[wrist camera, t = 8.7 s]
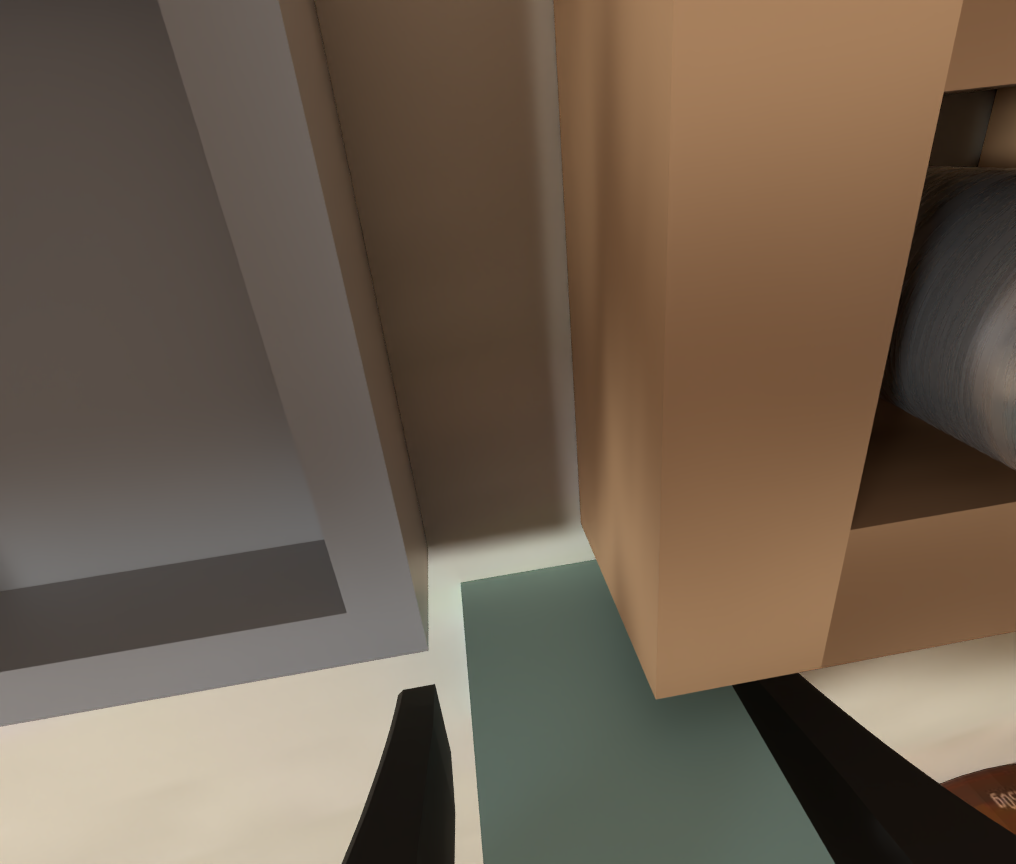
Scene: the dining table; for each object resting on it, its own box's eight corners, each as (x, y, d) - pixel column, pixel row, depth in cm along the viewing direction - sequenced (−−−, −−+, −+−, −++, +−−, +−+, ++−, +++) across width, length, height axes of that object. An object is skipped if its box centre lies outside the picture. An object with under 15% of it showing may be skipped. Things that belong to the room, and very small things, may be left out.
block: (650, 682, 13) (802, 1036, 8) (484, 713, 13) (526, 1102, 8) (653, 549, 12) (850, 890, 6) (460, 582, 11) (491, 969, 6)
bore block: (1006, 453, 12) (1262, 584, 8) (580, 523, 11) (655, 699, 7) (1204, -128, 8) (1895, -381, 4) (550, -72, 7) (681, -314, 3)
